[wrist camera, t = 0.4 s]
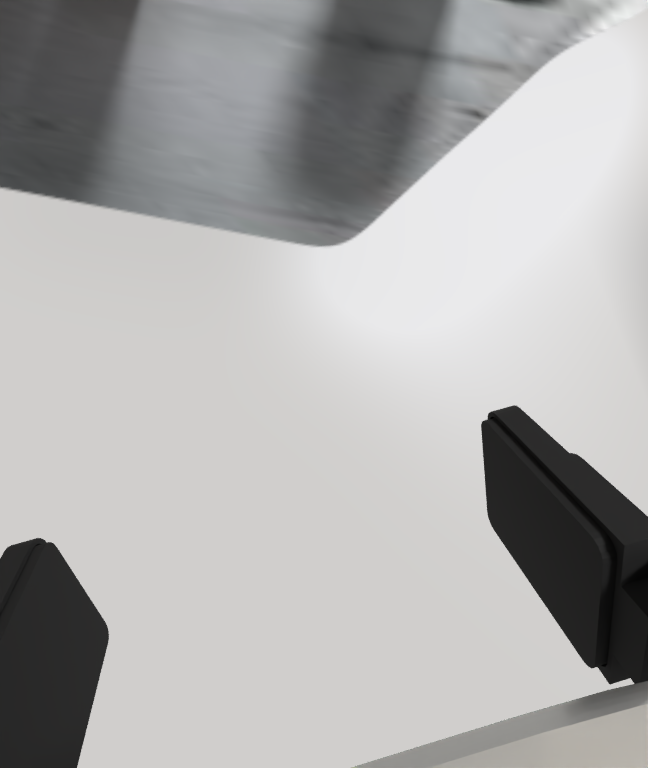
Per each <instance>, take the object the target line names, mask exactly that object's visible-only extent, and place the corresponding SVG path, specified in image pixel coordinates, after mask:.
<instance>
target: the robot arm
mask: <svg viewBox="0 0 648 768" xmlns="http://www.w3.org/2000/svg"><path fill="white" fill-rule="evenodd" d="M481 428H482V443H483V457H484V470H485V485H486V497H487V498H486V499H487V512H488V517H489V520H490V523H491V525H492V527H493V529H494V531H495V532H496V533H497V535H498V536H499V538H500V539H501V541H502V542H503V544H504V545H505V547H506V548H507V550H508V551H509V553H510V554H511V555H512V557H513V558H514V560H515V561H516V563H517V564H518V566H519V567H520V569H521V570H522V572H523V573H524V574H525V576H526V577H527V579H528V580H529V582H530V583H531V585H532V586H533V588H534V589H535V591H536V592H537V594H538V595H539V597H540V598H541V600H542V601H543V602H544V604H545V605H546V607H547V608H548V609H549V611H550V613H551V614H552V616H553V617H554V619H555V620H556V621H557V623H558V624H559V626H560V627H561V629H562V630H563V632H564V633H565V635H566V636H567V638H568V639H569V640H570V642H571V643H572V645H573V646H574V648H575V649H576V651H577V652H578V654H579V655H580V657H581V658H582V660H583V661H584V662H585V663H586V664H587V665H588V666H589V667H590V668H595V667H598V668H599V670H600V671H601V672H602V674H603V675H604V677H605V678H606V680H607V681H608V683H609V684H613V683H616V682H619V681H622V680H625V679H628V678H631V679H632V681H633V682H634V683H635V684H633V685H629V686H624V687H619V688H616V689H611V690H607V691H604V692H600V693H596V694H593V695H589V696H586V697H583V698H579V699H576V700H572V701H569V702H565V703H562V704H558V705H555V706H551V707H548V708H544V709H541V710H538V711H534V712H530V713H527V714H524V715H520V716H517V717H513V718H511V719H507V720H504V721H500V722H497V723H494V724H491V725H488V726H484V727H481V728H478V729H475V730H471V731H468V732H465V733H462V734H458V735H455V736H452V737H449V738H446V739H442V740H439V741H436V742H433V743H430V744H426V745H423V746H420V747H416V748H413V749H410V750H407V751H404V752H400V753H398V754H394V755H391V756H387V757H384V758H381V759H378V760H374V761H371V762H368V763H365V764H362V765H359V766H355V767H352V768H648V516H646V515H645V514H644V513H643V512H642V511H641V510H640V509H639V508H637V507H636V506H635V505H634V504H633V503H632V502H631V501H630V500H628V499H627V498H626V497H625V496H624V495H623V494H622V493H621V492H619V491H618V490H617V489H616V488H615V487H614V486H613V485H611V483H609V482H608V481H607V480H606V479H605V478H604V477H602V475H600V474H599V473H598V472H597V471H596V470H595V469H594V468H592V467H591V466H590V465H589V464H588V463H587V462H586V461H585V460H584V459H582V458H581V457H580V456H578V455H576V454H573V453H569V452H567V451H566V450H565V449H564V448H563V447H562V446H561V445H560V444H559V443H558V442H556V441H555V440H554V439H553V438H552V437H551V436H550V435H549V434H548V433H547V432H545V431H544V430H543V429H542V428H541V427H540V426H539V425H538V424H537V423H536V422H535V421H533V420H532V419H531V418H530V417H529V416H528V415H527V414H526V413H525V412H524V411H522V410H521V409H520V408H519V407H517V406H511V407H507V408H503V409H500V410H496V411H493V412H490V413H489V414H488V420H485V421H483V422H482V424H481ZM108 639H109V634H108V628H107V625H106V623H105V621H104V620H103V618H102V617H101V615H100V613H99V612H98V610H97V609H96V607H95V606H94V604H93V603H92V601H91V600H90V598H89V597H88V595H87V594H86V592H85V590H84V589H83V587H82V586H81V584H80V583H79V581H78V579H77V578H76V576H75V575H74V573H73V572H72V570H71V569H70V567H69V566H68V564H67V562H66V561H65V559H64V558H63V556H62V555H61V553H60V552H59V550H58V548H57V547H56V546H55V545H54V544H53V543H51V542H48V543H46V541H45V540H43V539H41V538H36V539H33V540H29V541H26V542H22V543H19V544H15V545H11V546H10V547H8V548H7V549H6V550H5V551H4V553H3V555H2V557H1V558H0V768H77V765H78V761H79V757H80V753H81V749H82V745H83V741H84V737H85V733H86V729H87V725H88V721H89V717H90V713H91V709H92V705H93V701H94V697H95V693H96V689H97V684H98V681H99V676H100V673H101V669H102V665H103V661H104V657H105V653H106V649H107V645H108Z"/></svg>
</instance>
